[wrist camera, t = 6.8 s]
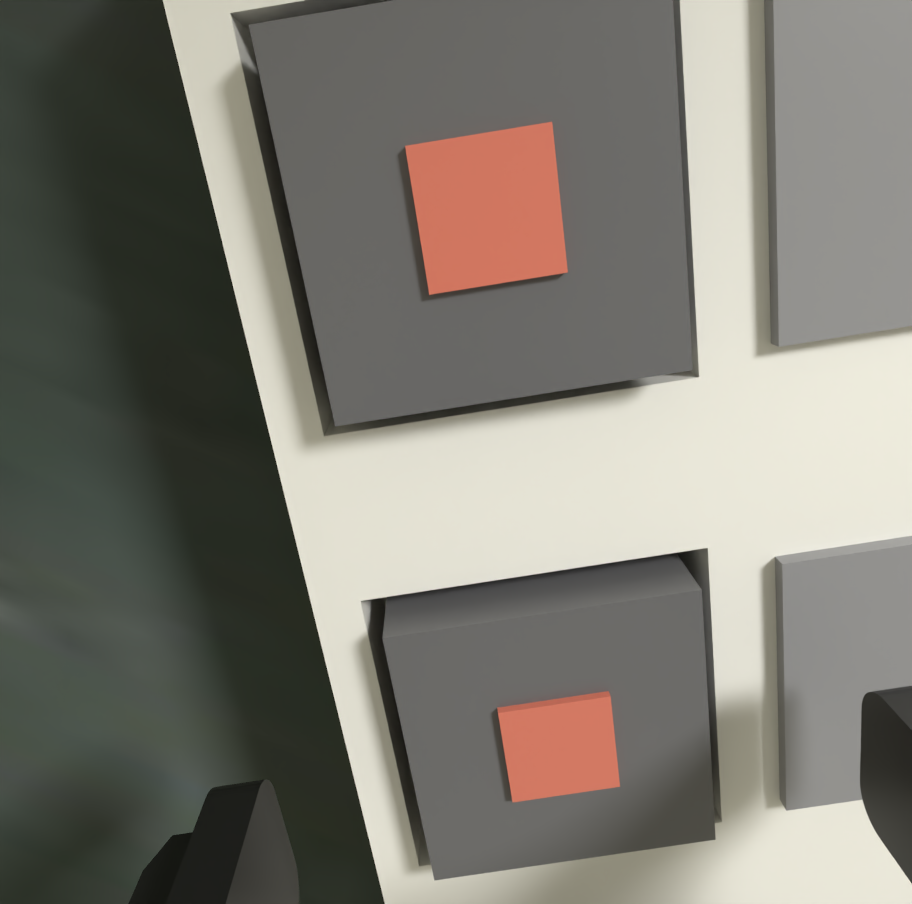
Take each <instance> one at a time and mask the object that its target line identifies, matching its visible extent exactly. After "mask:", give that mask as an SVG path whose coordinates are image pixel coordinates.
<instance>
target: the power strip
mask: <svg viewBox="0 0 912 904" xmlns="http://www.w3.org/2000/svg"><path fill="white" fill-rule="evenodd" d="M386 1H392V0H163V3H164V7H165V12H166V16H167V20H168V24H169V28H170V32H171V36H172V40H173V44H174V48H175V52H176V56H177V60H178V64H179V68H180V73H181V77H182V81H183V85H184V89H185V93H186V97H187V101H188V105H189V109H190V113H191V117H192V121H193V125H194V129H195V134H196V138H197V142H198V146H199V150H200V154H201V158H202V162H203V166H204V170H205V174H206V178H207V182H208V186H209V190H210V195H211V199H212V203H213V207H214V211H215V215H216V219H217V223H218V227H219V231H220V235H221V239H222V243H223V247H224V252H225V256H226V260H227V264H228V268H229V272H230V276H231V280H232V284H233V288H234V292H235V296H236V300H237V304H238V308H239V313H240V317H241V321H242V325H243V329H244V333H245V337H246V341H247V345H248V349H249V353H250V357H251V361H252V365H253V369H254V374H255V378H256V382H257V386H258V390H259V394H260V398H261V402H262V406H263V410H264V414H265V418H266V422H267V426H268V430H269V435H270V439H271V443H272V447H273V451H274V455H275V459H276V463H277V467H278V471H279V475H280V479H281V483H282V487H283V491H284V496H285V500H286V504H287V508H288V512H289V516H290V520H291V524H292V528H293V532H294V536H295V540H296V544H297V548H298V553H299V557H300V561H301V565H302V569H303V573H304V577H305V581H306V585H307V589H308V593H309V597H310V601H311V605H312V609H313V614H314V618H315V622H316V626H317V630H318V634H319V638H320V642H321V646H322V650H323V654H324V658H325V662H326V666H327V670H328V675H329V679H330V683H331V687H332V691H333V695H334V699H335V703H336V707H337V711H338V715H339V719H340V723H341V727H342V731H343V736H344V740H345V744H346V748H347V752H348V756H349V760H350V764H351V768H352V772H353V776H354V780H355V784H356V788H357V792H358V797H359V801H360V805H361V809H362V813H363V817H364V821H365V825H366V829H367V833H368V837H369V841H370V845H371V849H372V854H373V858H374V862H375V866H376V870H377V874H378V878H379V882H380V886H381V890H382V894H383V898H384V902H385V904H912V883H911V882H910V881H909V879H908V878H907V876H906V875H905V873H904V872H903V871H902V869H901V868H900V866H899V865H898V864H897V862H896V861H895V859H894V858H893V856H892V855H891V854H890V852H889V851H888V849H887V848H886V846H885V845H884V844H883V842H882V841H881V839H880V838H879V836H878V835H877V833H876V832H875V830H874V828H873V826H872V824H871V822H870V820H869V817H868V815H867V812H866V810H865V807H864V803H863V800H862V795H861V789H860V753H861V710H862V701H863V697H864V695H865V694H866V693H868V692H872V691H879V690H885V689H892V688H899V687H905V686H912V0H673V12H674V31H675V49H676V68H677V86H678V105H679V124H680V142H681V161H682V179H683V198H684V216H685V235H686V254H687V272H688V291H689V309H690V328H691V346H692V365H693V370H690V371H684V372H678V373H671V374H665V375H659V376H652V377H646V378H640V379H633V380H627V381H621V382H614V383H608V384H602V385H595V386H589V387H583V388H576V389H570V390H564V391H557V392H551V393H545V394H538V395H532V396H526V397H519V398H513V399H506V400H500V401H494V402H487V403H481V404H475V405H468V406H462V407H456V408H449V409H443V410H437V411H430V412H424V413H418V414H411V415H405V416H399V417H392V418H386V419H380V420H373V421H367V422H361V423H354V424H348V425H342V426H335V423H334V419H333V414H332V409H331V405H330V400H329V396H328V391H327V386H326V382H325V377H324V372H323V368H322V363H321V358H320V354H319V349H318V345H317V340H316V335H315V331H314V326H313V321H312V317H311V312H310V307H309V303H308V298H307V293H306V289H305V284H304V280H303V275H302V270H301V266H300V261H299V256H298V252H297V247H296V242H295V238H294V233H293V229H292V224H291V219H290V215H289V210H288V205H287V201H286V196H285V191H284V187H283V182H282V177H281V173H280V168H279V164H278V159H277V154H276V150H275V145H274V140H273V136H272V131H271V126H270V122H269V117H268V113H267V108H266V103H265V99H264V94H263V89H262V85H261V80H260V75H259V71H258V66H257V61H256V57H255V52H254V48H253V43H252V38H251V34H250V29H249V25H250V24H256V23H262V22H268V21H274V20H279V19H285V18H291V17H297V16H303V15H309V14H315V13H321V12H327V11H333V10H339V9H345V8H351V7H357V6H362V5H368V4H374V3H380V2H386ZM671 553H677V555H678V556H679V558H680V559H681V560H682V562H683V563H684V565H685V566H686V568H687V569H688V571H689V572H690V573H691V575H692V576H693V578H694V579H695V581H696V582H697V583H698V585H699V586H700V588H701V589H702V601H703V619H704V638H705V656H706V674H707V692H708V710H709V728H710V746H711V764H712V783H713V801H714V819H715V837H716V840H710V841H703V842H696V843H689V844H682V845H675V846H668V847H662V848H655V849H648V850H641V851H634V852H627V853H620V854H613V855H607V856H600V857H593V858H586V859H579V860H572V861H565V862H558V863H552V864H545V865H538V866H531V867H524V868H517V869H510V870H503V871H497V872H490V873H483V874H476V875H469V876H462V877H455V878H448V879H442V880H435V881H434V876H433V872H432V867H431V862H430V858H429V853H428V848H427V844H426V839H425V834H424V830H423V825H422V820H421V816H420V811H419V806H418V802H417V797H416V793H415V788H414V783H413V779H412V774H411V769H410V765H409V760H408V755H407V751H406V746H405V741H404V737H403V732H402V727H401V723H400V718H399V713H398V709H397V704H396V699H395V695H394V690H393V685H392V681H391V676H390V671H389V667H388V662H387V657H386V653H385V648H384V644H383V639H382V637H383V628H384V619H385V610H386V602H387V597H390V596H396V595H403V594H409V593H416V592H422V591H429V590H435V589H442V588H449V587H455V586H462V585H468V584H475V583H481V582H488V581H494V580H501V579H507V578H514V577H520V576H527V575H533V574H540V573H547V572H553V571H560V570H566V569H573V568H579V567H586V566H592V565H599V564H605V563H612V562H618V561H625V560H632V559H638V558H645V557H651V556H658V555H664V554H671Z"/></svg>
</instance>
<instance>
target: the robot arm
mask: <svg viewBox="0 0 912 904" xmlns="http://www.w3.org/2000/svg"><path fill="white" fill-rule="evenodd" d="M860 789H861V795H862V800H863V803H864V807H865V810H866V812H867V815H868V817H869V820H870V822H871V824H872V826H873V828H874V830H875V832H876V833H877V835H878V836H879V838H880V839H881V841H882V842H883V844H884V845H885V846H886V848H887V849H888V851H889V852H890V854H891V855H892V856H893V858H894V859H895V861H896V862H897V864H898V865H899V866H900V868H901V869H902V871H903V872H904V873H905V875H906V876H907V878H908V879H909V881H910V882H911V883H912V686H905V687H899V688H892V689H885V690H879V691H872V692H868V693H866V694H865V695H864V697H863V701H862V710H861V753H860ZM129 904H299V879H298V871H297V865H296V861H295V858H294V854H293V851H292V848H291V844H290V841H289V837H288V834H287V830H286V827H285V823H284V820H283V816H282V813H281V810H280V806H279V803H278V799H277V796H276V792H275V789H274V787H273V785H272V783H271V782H270V781H269V780H260V781H253V782H246V783H240V784H233V785H226V786H220V787H214V788H212V789H211V790H210V791H209V793H208V794H207V797H206V799H205V801H204V804H203V807H202V809H201V812H200V815H199V817H198V820H197V823H196V825H195V828H194V831H193V833H186V834H179V835H173V836H172V837H171V838H170V839H169V840H168V842H167V843H166V844H165V845H164V846H163V848H162V849H161V850H160V851H159V852H158V854H157V855H156V856H155V857H154V858H153V859H152V861H151V862H150V863H149V864H148V865H147V867H146V868H145V869H144V870H143V872H142V874H141V876H140V879H139V881H138V883H137V886H136V888H135V890H134V893H133V895H132V897H131V900H130V902H129Z"/></svg>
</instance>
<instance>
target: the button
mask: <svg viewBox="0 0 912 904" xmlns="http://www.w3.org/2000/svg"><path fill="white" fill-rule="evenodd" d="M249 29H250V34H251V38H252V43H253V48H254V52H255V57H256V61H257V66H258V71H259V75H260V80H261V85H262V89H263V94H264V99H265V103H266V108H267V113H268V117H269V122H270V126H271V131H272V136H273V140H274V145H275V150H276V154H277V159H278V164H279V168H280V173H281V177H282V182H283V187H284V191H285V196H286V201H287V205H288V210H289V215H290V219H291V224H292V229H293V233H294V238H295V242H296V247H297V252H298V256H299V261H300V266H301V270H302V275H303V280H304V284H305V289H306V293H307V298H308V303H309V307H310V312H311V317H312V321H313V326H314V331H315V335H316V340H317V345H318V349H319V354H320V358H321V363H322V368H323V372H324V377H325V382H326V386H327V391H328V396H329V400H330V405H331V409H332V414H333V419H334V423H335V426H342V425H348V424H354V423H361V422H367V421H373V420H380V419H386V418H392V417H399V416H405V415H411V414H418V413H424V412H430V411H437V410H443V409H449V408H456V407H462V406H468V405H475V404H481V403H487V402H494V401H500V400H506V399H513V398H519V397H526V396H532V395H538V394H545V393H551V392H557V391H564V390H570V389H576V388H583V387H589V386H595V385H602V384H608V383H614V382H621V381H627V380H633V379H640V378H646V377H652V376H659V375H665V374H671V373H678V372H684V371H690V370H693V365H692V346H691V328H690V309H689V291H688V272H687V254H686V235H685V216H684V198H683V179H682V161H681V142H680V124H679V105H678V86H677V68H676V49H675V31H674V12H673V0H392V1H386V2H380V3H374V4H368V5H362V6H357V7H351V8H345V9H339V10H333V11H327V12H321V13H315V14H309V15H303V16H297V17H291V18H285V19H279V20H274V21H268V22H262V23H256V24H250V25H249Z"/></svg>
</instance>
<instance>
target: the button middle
mask: <svg viewBox="0 0 912 904" xmlns="http://www.w3.org/2000/svg"><path fill="white" fill-rule="evenodd" d="M382 639H383V644H384V648H385V653H386V657H387V662H388V667H389V671H390V676H391V681H392V685H393V690H394V695H395V699H396V704H397V709H398V713H399V718H400V723H401V727H402V732H403V737H404V741H405V746H406V751H407V755H408V760H409V765H410V769H411V774H412V779H413V783H414V788H415V793H416V797H417V802H418V806H419V811H420V816H421V820H422V825H423V830H424V834H425V839H426V844H427V848H428V853H429V858H430V862H431V867H432V872H433V876H434V881H435V880H442V879H448V878H455V877H462V876H469V875H476V874H483V873H490V872H497V871H503V870H510V869H517V868H524V867H531V866H538V865H545V864H552V863H558V862H565V861H572V860H579V859H586V858H593V857H600V856H607V855H613V854H620V853H627V852H634V851H641V850H648V849H655V848H662V847H668V846H675V845H682V844H689V843H696V842H703V841H710V840H716V837H715V819H714V801H713V783H712V764H711V746H710V728H709V710H708V692H707V674H706V656H705V638H704V619H703V601H702V589H701V588H700V586H699V585H698V583H697V582H696V581H695V579H694V578H693V576H692V575H691V573H690V572H689V571H688V569H687V568H686V566H685V565H684V563H683V562H682V560H681V559H680V558H679V556H678V555H677V553H671V554H664V555H658V556H651V557H645V558H638V559H632V560H625V561H618V562H612V563H605V564H599V565H592V566H586V567H579V568H573V569H566V570H560V571H553V572H547V573H540V574H533V575H527V576H520V577H514V578H507V579H501V580H494V581H488V582H481V583H475V584H468V585H462V586H455V587H449V588H442V589H435V590H429V591H422V592H416V593H409V594H403V595H396V596H390V597H387V602H386V610H385V619H384V628H383V637H382Z"/></svg>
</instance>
